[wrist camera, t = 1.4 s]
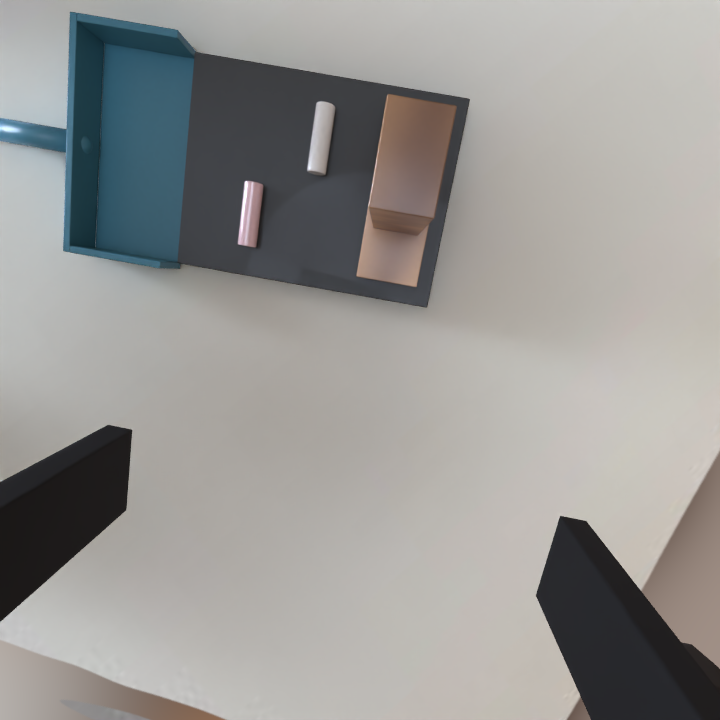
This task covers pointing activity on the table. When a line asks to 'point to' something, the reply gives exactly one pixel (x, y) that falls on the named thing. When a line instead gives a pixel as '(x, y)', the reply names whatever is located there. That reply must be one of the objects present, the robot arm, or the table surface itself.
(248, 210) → the chalk
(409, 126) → the wooden block on base
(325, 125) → the chalk
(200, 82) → the chalkboard
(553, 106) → the table surface
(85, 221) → the dustpan
